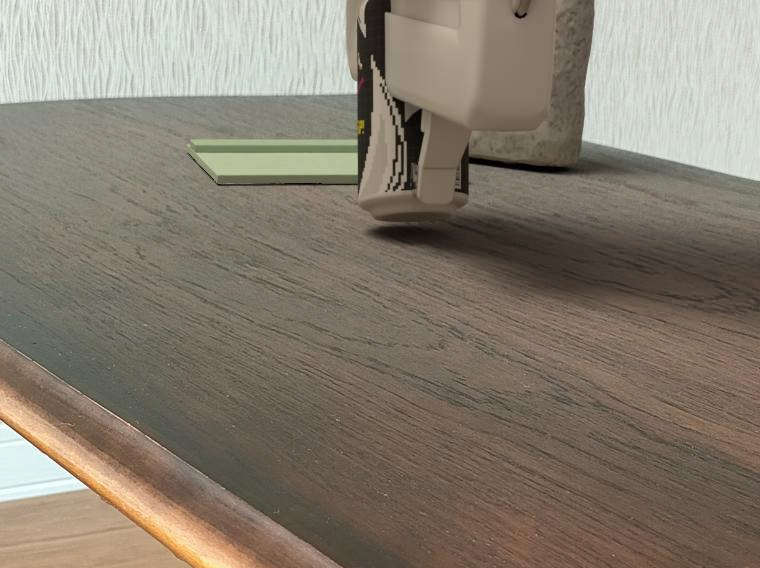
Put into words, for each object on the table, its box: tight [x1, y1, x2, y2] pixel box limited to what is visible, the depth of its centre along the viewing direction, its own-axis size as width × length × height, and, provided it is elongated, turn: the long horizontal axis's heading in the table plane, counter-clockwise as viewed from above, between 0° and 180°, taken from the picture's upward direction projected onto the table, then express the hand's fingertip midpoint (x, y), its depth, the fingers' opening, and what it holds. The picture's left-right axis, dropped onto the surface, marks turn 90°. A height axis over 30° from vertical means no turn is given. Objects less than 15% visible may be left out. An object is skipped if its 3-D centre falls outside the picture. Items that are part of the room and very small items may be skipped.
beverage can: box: [356, 0, 470, 223], centre depth 75 cm, size 6×6×12 cm
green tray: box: [186, 138, 358, 185], centre depth 94 cm, size 16×12×1 cm
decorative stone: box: [469, 0, 596, 168], centre depth 96 cm, size 11×6×15 cm, turn 46°
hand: (426, 199), depth 73 cm, fingers closed, pressing on beverage can
